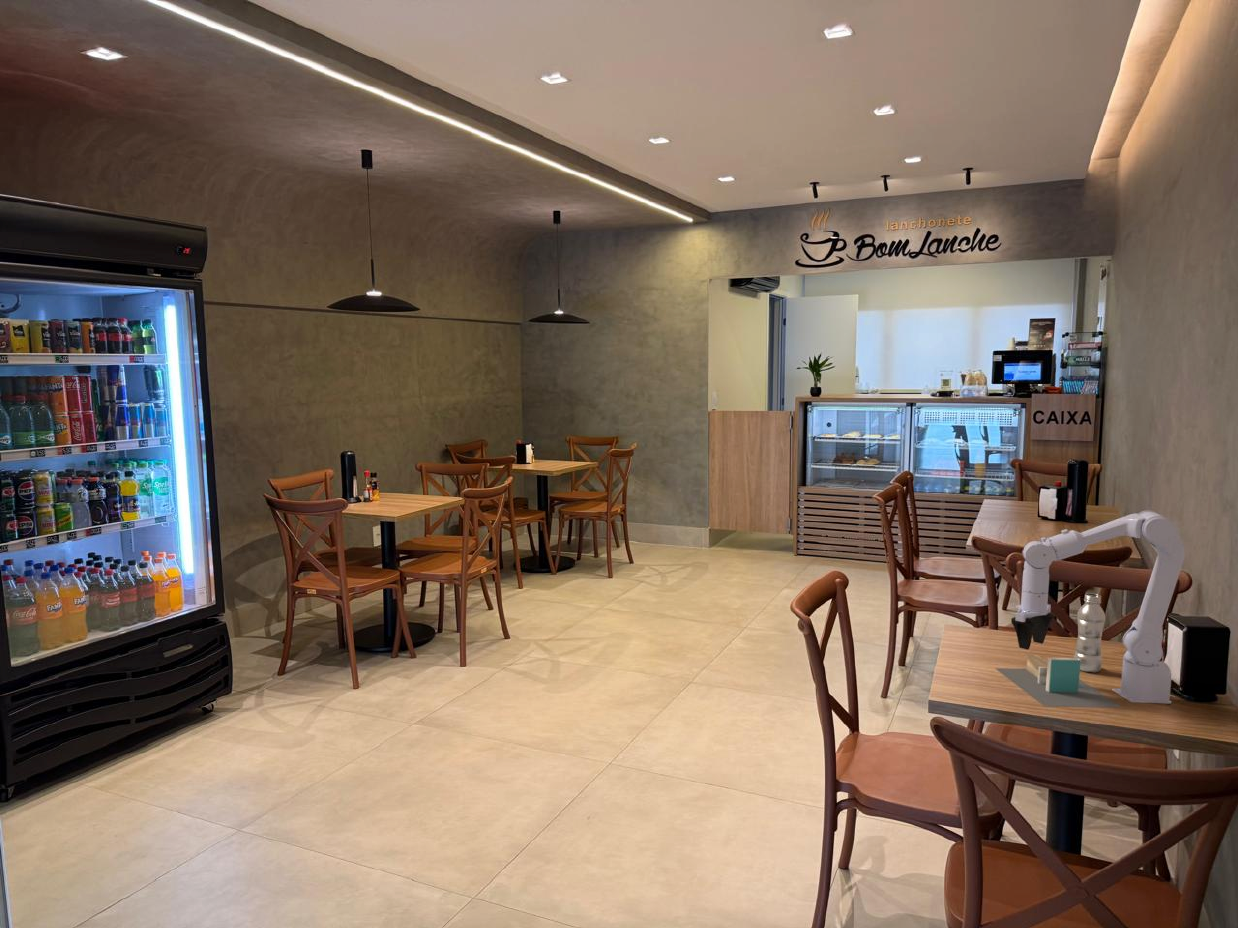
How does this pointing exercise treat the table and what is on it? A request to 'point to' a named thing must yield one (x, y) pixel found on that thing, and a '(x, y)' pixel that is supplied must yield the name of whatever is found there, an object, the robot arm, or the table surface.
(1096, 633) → the plastic bottle
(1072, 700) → the mat
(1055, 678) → the tile
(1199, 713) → the table surface
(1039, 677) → the tan upright post
